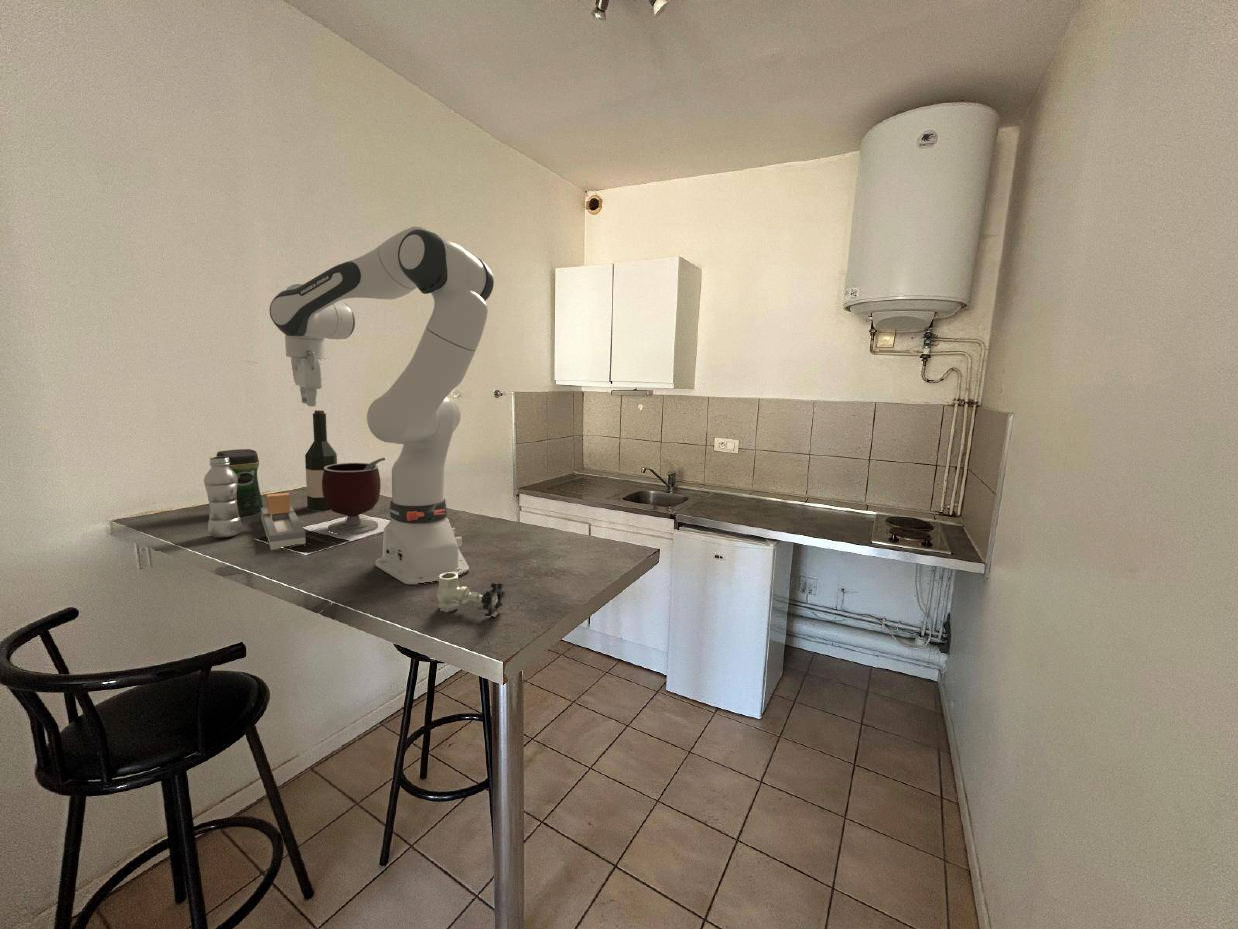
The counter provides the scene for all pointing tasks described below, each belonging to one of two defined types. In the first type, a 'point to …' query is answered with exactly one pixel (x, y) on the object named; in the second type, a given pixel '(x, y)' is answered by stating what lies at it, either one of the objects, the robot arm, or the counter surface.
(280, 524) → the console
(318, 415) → the wine bottle
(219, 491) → the silver ridged bottle
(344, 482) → the mate gourd
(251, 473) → the coffee jar
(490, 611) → the valve
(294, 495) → the counter surface
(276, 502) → the fader knob
